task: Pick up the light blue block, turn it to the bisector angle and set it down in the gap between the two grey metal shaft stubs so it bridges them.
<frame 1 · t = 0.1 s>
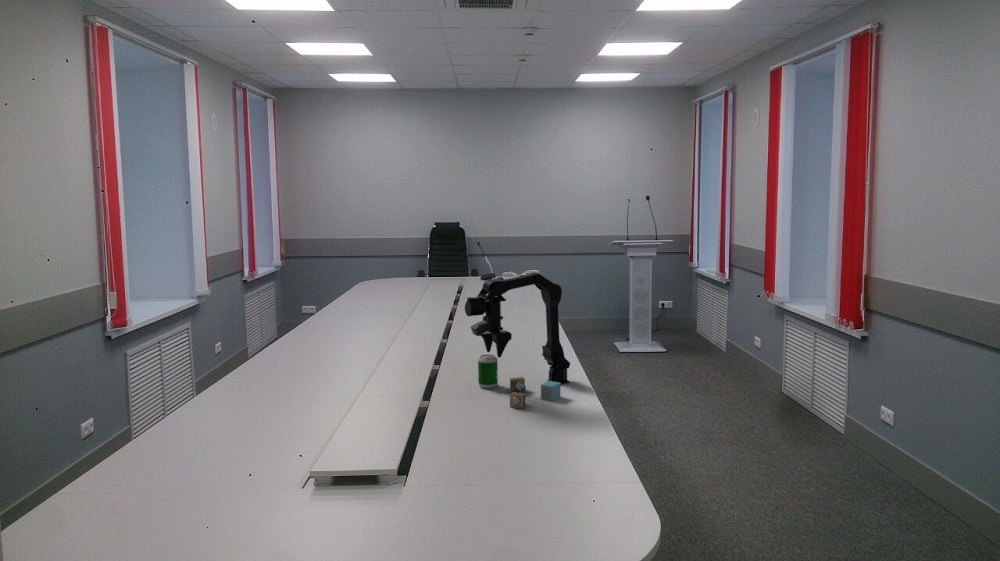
hand: (493, 354, 243), 15 cm above the table, fingers open, 9 cm apart
shaft b: (518, 406, 229), on the table
light blue block: (550, 398, 237), on the table
soda can: (488, 386, 253), on the table
shaft a: (518, 391, 245), on the table
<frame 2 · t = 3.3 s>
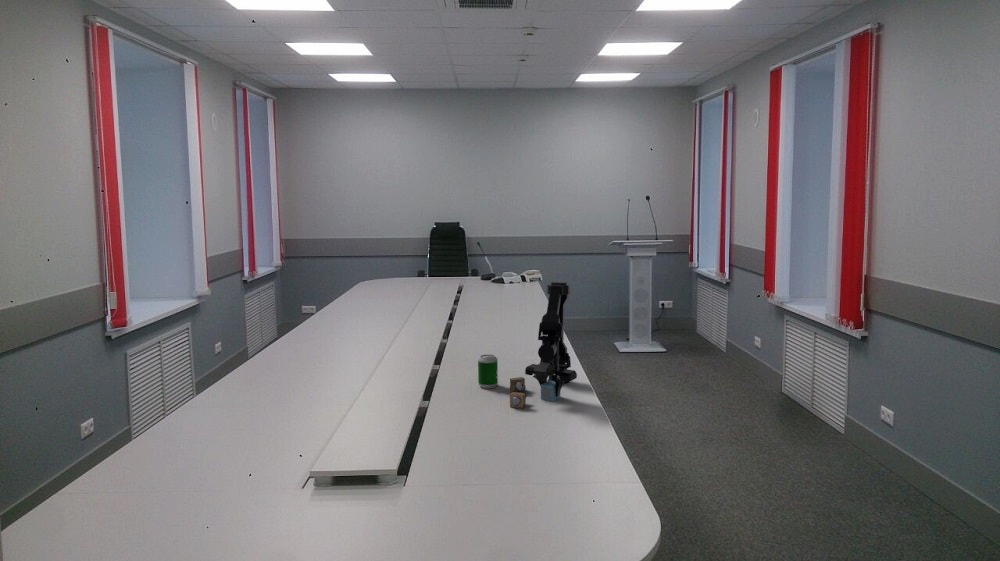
hand: (550, 395, 237), 1 cm above the table, fingers closed on light blue block, 5 cm apart
light blue block: (550, 398, 237), on the table, touching gripper
everything else where it was.
when the fingers open (2 cm above the table, at t = 7.2 s): light blue block drops 2 cm, on the table.
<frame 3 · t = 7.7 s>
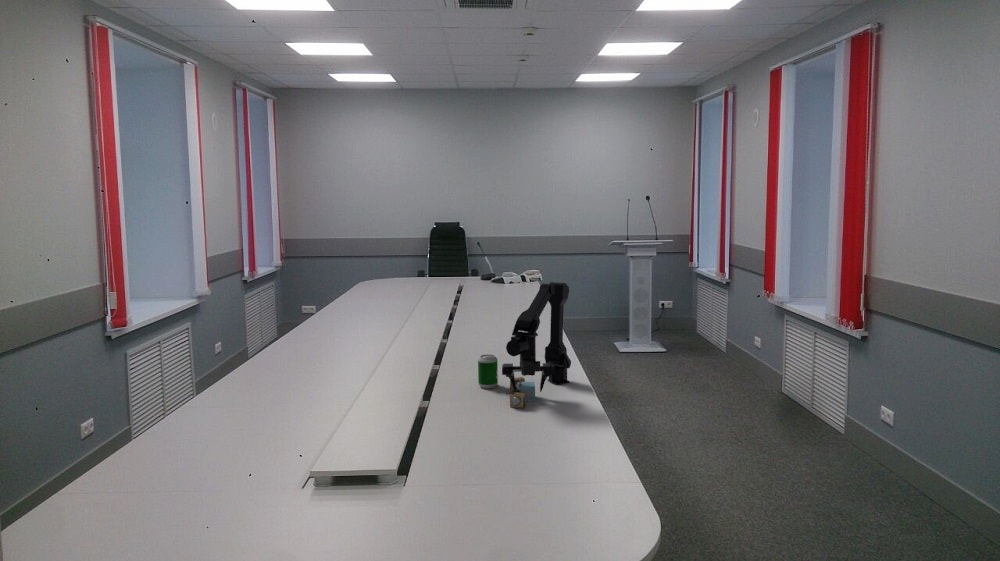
hand: (528, 391, 237), 2 cm above the table, fingers open, 9 cm apart
light blue block: (528, 398, 237), on the table
everything else where it was.
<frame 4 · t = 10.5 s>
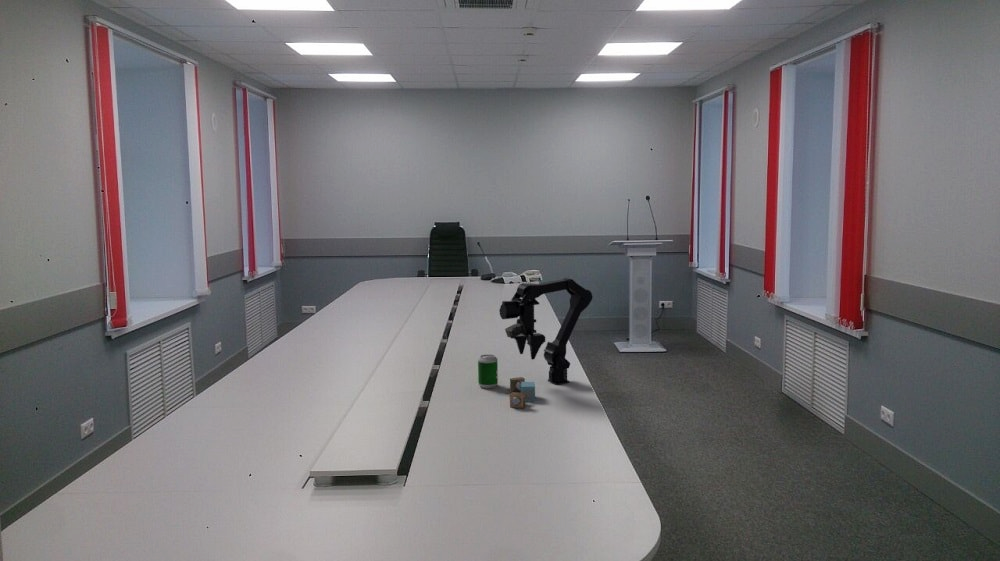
hand: (527, 356, 249), 12 cm above the table, fingers open, 9 cm apart
nothing on the table moved.
at the end: light blue block 0.0 cm from the target spot, on the table; light blue block tilted 0°; the gripper is holding nothing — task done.
